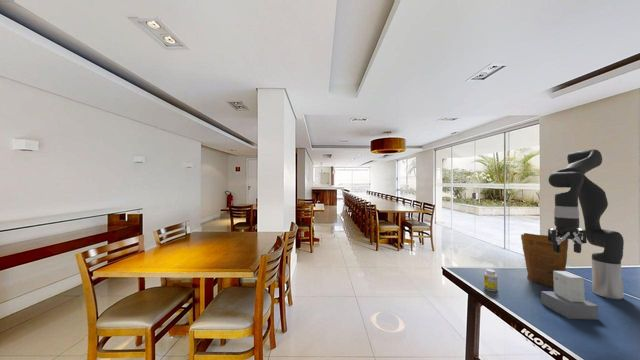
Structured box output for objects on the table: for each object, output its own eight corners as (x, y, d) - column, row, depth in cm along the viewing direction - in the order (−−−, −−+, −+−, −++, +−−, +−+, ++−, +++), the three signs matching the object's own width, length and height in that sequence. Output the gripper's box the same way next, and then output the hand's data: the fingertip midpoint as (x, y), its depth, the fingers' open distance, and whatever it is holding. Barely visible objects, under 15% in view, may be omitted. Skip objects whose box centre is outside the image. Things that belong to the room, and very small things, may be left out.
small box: (585, 302, 95) (584, 278, 95) (570, 302, 96) (569, 277, 96) (566, 293, 103) (566, 270, 103) (553, 293, 104) (552, 270, 104)
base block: (567, 304, 105) (567, 291, 105) (598, 320, 93) (598, 305, 93) (541, 303, 106) (541, 291, 106) (568, 319, 94) (568, 304, 94)
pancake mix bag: (566, 293, 116) (566, 239, 116) (520, 279, 133) (520, 231, 133) (571, 290, 119) (571, 237, 119) (526, 276, 136) (525, 230, 136)
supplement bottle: (484, 286, 123) (484, 267, 123) (497, 289, 120) (497, 270, 120) (484, 289, 119) (483, 270, 119) (497, 292, 115) (497, 273, 116)
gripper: (573, 215, 103) (574, 250, 103) (541, 215, 104) (542, 249, 104) (593, 217, 96) (593, 255, 96) (558, 217, 97) (559, 255, 96)
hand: (567, 252), depth 100 cm, fingers open, 8 cm apart
